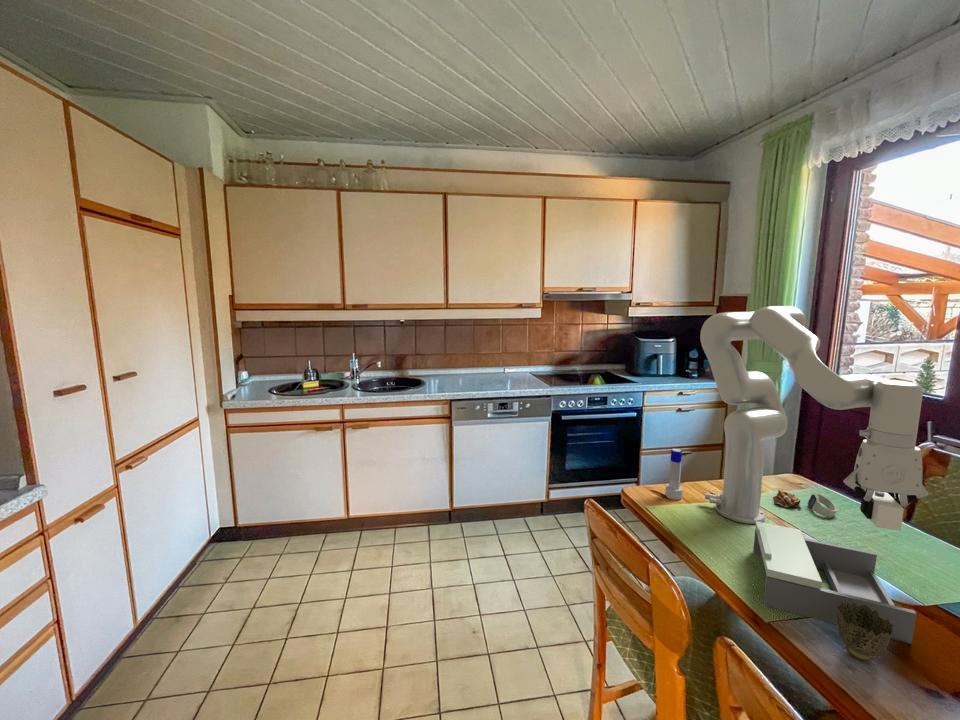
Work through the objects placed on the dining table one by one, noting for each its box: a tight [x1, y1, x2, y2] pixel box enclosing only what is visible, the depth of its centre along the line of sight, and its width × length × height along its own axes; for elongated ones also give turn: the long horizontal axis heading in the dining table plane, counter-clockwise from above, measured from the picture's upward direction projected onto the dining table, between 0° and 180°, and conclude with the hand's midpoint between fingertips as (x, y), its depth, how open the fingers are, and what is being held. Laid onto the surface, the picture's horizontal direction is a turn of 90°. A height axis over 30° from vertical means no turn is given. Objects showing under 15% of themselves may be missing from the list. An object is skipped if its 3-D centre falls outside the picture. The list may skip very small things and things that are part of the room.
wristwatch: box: [807, 492, 838, 518], centre depth 128 cm, size 9×6×5 cm
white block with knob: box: [869, 490, 905, 532], centre depth 94 cm, size 4×8×6 cm, turn 155°
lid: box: [755, 521, 823, 589], centre depth 96 cm, size 9×21×3 cm, turn 153°
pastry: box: [772, 489, 803, 512], centre depth 134 cm, size 7×12×4 cm, turn 153°
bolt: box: [664, 448, 684, 501], centre depth 136 cm, size 16×5×5 cm
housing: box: [752, 528, 917, 645], centre depth 93 cm, size 23×21×6 cm
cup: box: [837, 602, 894, 663], centre depth 76 cm, size 8×7×8 cm
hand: (880, 517), depth 94 cm, fingers closed on white block with knob, 4 cm apart
